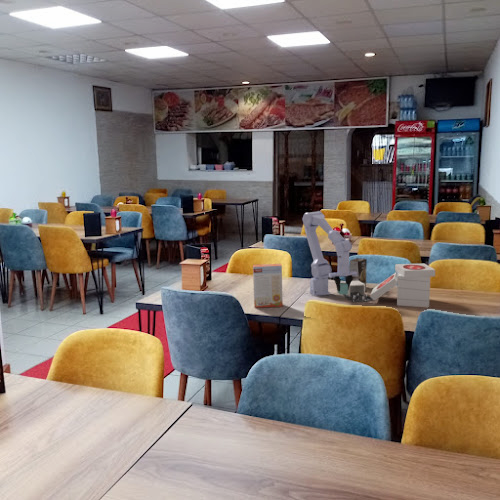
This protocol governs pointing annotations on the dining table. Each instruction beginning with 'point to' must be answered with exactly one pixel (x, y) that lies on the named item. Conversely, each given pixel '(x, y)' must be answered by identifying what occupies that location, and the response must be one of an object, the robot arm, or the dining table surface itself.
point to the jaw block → (343, 288)
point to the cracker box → (267, 285)
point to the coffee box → (359, 269)
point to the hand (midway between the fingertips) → (342, 290)
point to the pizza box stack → (408, 285)
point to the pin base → (358, 297)
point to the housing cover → (356, 287)
